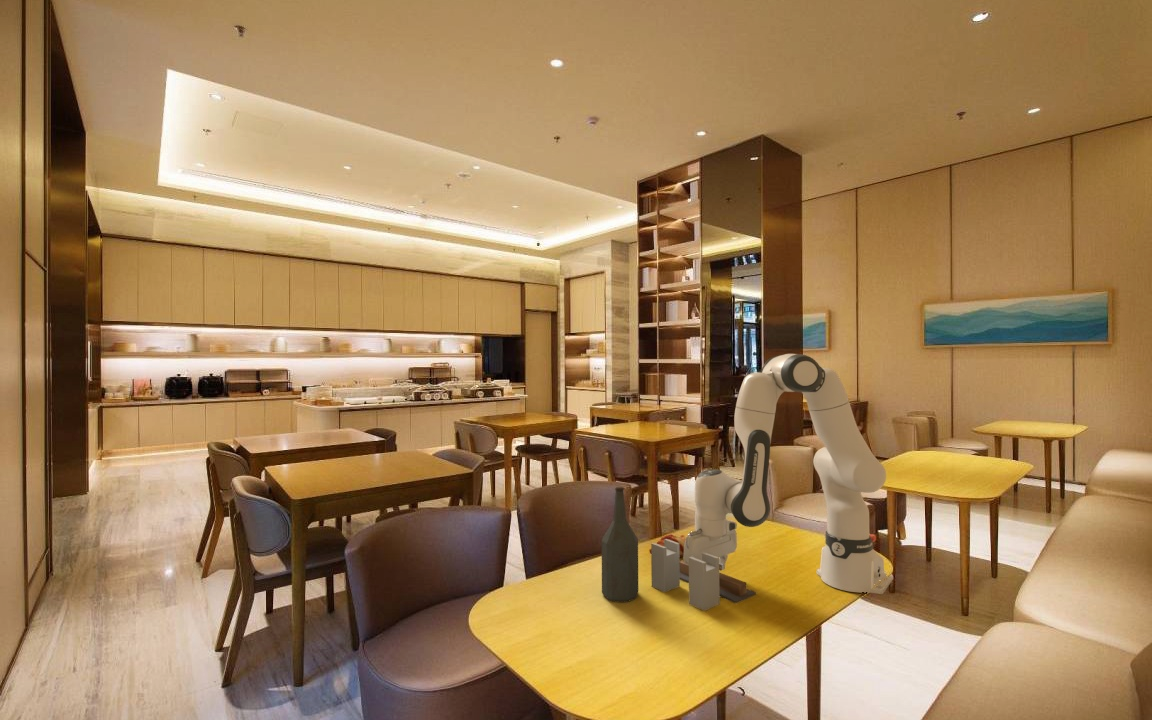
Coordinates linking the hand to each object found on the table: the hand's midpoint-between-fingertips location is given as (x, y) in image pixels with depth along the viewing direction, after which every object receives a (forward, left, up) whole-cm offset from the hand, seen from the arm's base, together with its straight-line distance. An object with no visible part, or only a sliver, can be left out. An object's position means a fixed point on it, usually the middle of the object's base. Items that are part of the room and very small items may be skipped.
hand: (710, 573), depth 152 cm
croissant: (-11, -23, -4) cm, 26 cm away
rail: (0, 0, -2) cm, 3 cm away
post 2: (+12, +7, -3) cm, 14 cm away
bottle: (+26, -11, -3) cm, 28 cm away
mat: (0, 0, -3) cm, 3 cm away
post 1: (+12, -7, -3) cm, 14 cm away
